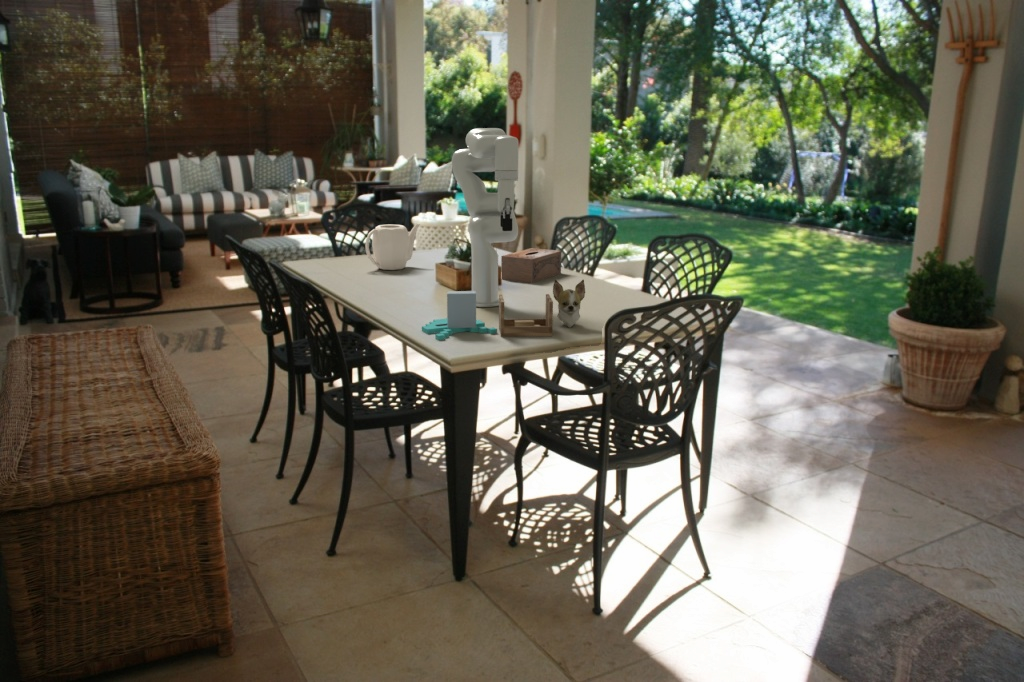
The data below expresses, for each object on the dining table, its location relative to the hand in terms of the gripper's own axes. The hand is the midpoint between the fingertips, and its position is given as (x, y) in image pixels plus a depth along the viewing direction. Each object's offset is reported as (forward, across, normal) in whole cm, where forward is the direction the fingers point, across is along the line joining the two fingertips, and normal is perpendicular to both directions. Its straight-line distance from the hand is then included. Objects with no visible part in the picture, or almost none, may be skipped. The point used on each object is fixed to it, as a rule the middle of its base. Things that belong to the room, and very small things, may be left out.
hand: (506, 228), depth 287 cm
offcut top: (+28, +20, +4) cm, 34 cm away
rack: (+30, +18, +5) cm, 36 cm away
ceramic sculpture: (+31, +10, +20) cm, 38 cm away
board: (+29, +15, -15) cm, 36 cm away
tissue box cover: (+31, -78, +16) cm, 85 cm away
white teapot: (+31, -99, -43) cm, 112 cm away
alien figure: (+31, +14, -17) cm, 38 cm away
